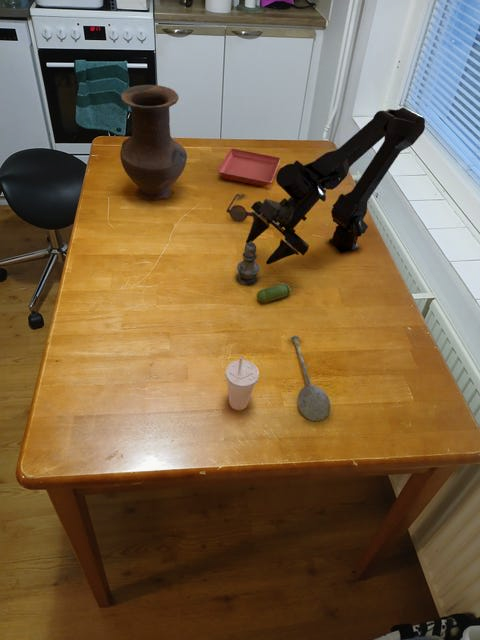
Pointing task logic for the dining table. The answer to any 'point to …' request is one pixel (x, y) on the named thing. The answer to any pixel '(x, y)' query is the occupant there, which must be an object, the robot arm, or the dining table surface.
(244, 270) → the chess piece
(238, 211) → the eyeglasses
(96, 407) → the dining table surface
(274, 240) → the dining table surface
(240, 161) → the plant saucer
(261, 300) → the pickle
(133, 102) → the vase
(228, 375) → the smoothie
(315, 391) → the soupspoon
